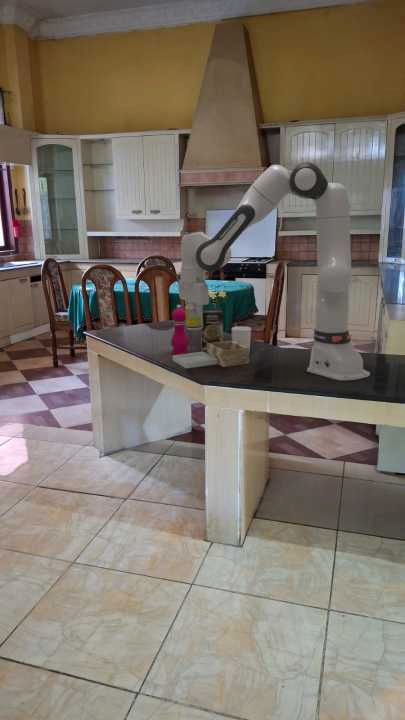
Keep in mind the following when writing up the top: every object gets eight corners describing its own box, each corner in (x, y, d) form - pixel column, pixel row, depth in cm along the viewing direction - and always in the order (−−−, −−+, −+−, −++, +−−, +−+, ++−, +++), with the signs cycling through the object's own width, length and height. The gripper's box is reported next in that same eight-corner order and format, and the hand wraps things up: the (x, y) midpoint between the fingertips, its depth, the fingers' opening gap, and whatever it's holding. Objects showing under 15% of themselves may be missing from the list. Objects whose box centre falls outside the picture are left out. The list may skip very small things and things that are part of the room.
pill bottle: (192, 326, 206) (191, 296, 203) (206, 327, 202) (205, 297, 199) (182, 329, 201) (180, 298, 198) (196, 330, 197) (195, 299, 194)
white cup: (249, 354, 215) (249, 330, 213) (230, 354, 217) (230, 329, 214) (251, 350, 222) (252, 326, 220) (233, 349, 224) (233, 326, 222)
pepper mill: (188, 355, 216) (187, 306, 211) (170, 355, 216) (169, 306, 211) (189, 351, 223) (188, 303, 218) (171, 351, 223) (170, 303, 218)
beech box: (248, 363, 202) (249, 348, 200) (223, 367, 198) (223, 351, 196) (230, 355, 215) (230, 340, 213) (206, 358, 210) (206, 343, 209)
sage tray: (217, 364, 202) (217, 359, 201) (185, 368, 197) (185, 363, 196) (203, 356, 213) (203, 351, 213) (172, 360, 208) (172, 355, 207)
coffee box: (201, 350, 223) (200, 312, 219) (201, 347, 229) (200, 309, 225) (223, 350, 223) (223, 312, 219) (222, 346, 229) (222, 309, 225)
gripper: (213, 278, 189) (213, 317, 192) (190, 274, 207) (191, 309, 210) (197, 279, 186) (197, 319, 190) (175, 274, 204) (176, 310, 208)
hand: (193, 313), depth 200 cm, fingers closed on pill bottle, 6 cm apart
